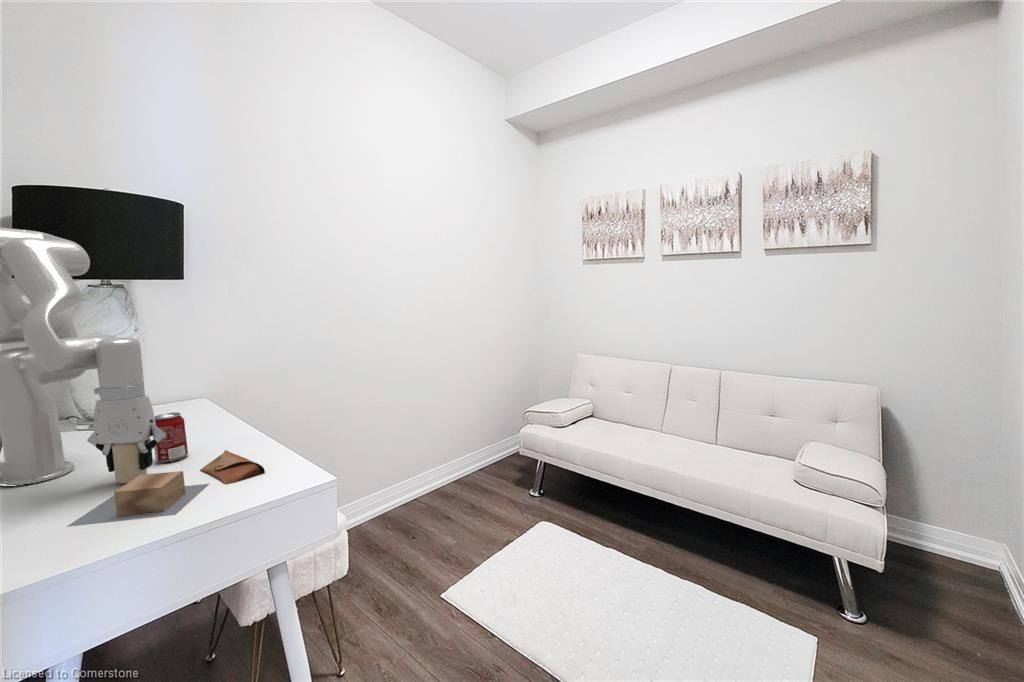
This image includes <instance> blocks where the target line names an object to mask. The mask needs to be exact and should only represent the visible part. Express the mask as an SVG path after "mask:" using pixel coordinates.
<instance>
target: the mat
mask: <svg viewBox="0 0 1024 682" xmlns="http://www.w3.org/2000/svg"><path fill="white" fill-rule="evenodd" d="M209 485H210V483H202V484H201V483H200V484H194V485H193V484H192V485H185V492H186V493H185V494H184V495H183V496H182V497H180V498H179V499H178V500H177V501H176V502H175V503H173V504H172V505H171V506H170V507H169V508H167V509H166V510H165V511H163V512H153V513H144V514H135V515H126V516H117V510H116V503H115V495H112V496H110V497H109V498H108V499H106V500H105V501H103V502H101V503H100V504H99V505H97V506H96V507H94V508H92V509H91V510H89V511H88V512H86V513H85V514H84V515H82V516H80V517H79V518H77V519H76V520H75V521H73V522H71V523H70V524H68V525H66V527H77V526H85V525H95V524H96V525H97V524H103V523H104V524H105V523H113V522H120V521H121V522H122V521H123V522H124V521H131V520H133V521H134V520H141V519H149V518H158V517H166V516H168V517H169V516H176V515H177V514H178V513H179V512H181V511H182V510H183V509H184V508H185V507H187V505H188V504H190V502H192V501H193V500H194V499H195V498H196V497H197V496H198V495H200V493H202V491H204V490H205V489H206V488H207V487H208V486H209Z"/></svg>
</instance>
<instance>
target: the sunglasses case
mask: <svg viewBox="0 0 1024 682" xmlns="http://www.w3.org/2000/svg"><path fill="white" fill-rule="evenodd" d="M199 472H201V473H204V474H205V475H208V476H210V477H212V478H214V479H215V480H218V481H219V482H221V483H222V484H223V485H225V486H226V485H231V484H235V483H238V482H241V481H246V480H248V479H251V478H254V477H257V476H260V475H264V474H265V473H266V471H265V468H264V466H262V465H261V464H259V463H258V462H255V461H252V460H250V459H248V458H245V457H243V456H241V455H238V454H236V453H233V452H230V451H229V450H227V449H225V450H224V451H223V453H221V454H220V455H219V456H218V457H216V458H214V459H213V460H211V461H210V462H208V463H207V464H205V466H203V467H202V468H201V469H199Z"/></svg>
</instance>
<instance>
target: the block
mask: <svg viewBox="0 0 1024 682" xmlns="http://www.w3.org/2000/svg"><path fill="white" fill-rule="evenodd" d="M185 486H186V484H185V476H184V471H183V470H179V471H170V472H169V471H168V472H158V473H147V474H145V475H139V476H138V477H136V478H135V479H133V480H132V481H130V482H129V483H125V484H124V485H122V486H121V487H120V488H118V489H116V490H115V491H114V492H113V494H114V495H115V503H116V510H117V516H126V515H135V514H144V513H153V512H163V511H165V510H166V509H167V508H169V507H170V506H171V505H172V504H173V503H175V502H176V501H177V500H178V499H179V498H180V497H182V496H183V495H184V494H185V493H186V492H185ZM114 495H113V496H114Z"/></svg>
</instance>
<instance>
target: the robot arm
mask: <svg viewBox="0 0 1024 682" xmlns="http://www.w3.org/2000/svg"><path fill="white" fill-rule="evenodd" d="M1 264H2V265H5V266H6V267H7V268H8V270H9V272H10V274H11V275H12V277H14V278H13V279H15V281H16V282H17V284H18V286H19V287H20V288H21V290H22V292H23V293H24V295H25V297H26V298H27V300H28V301H29V302H26V301H24V299H22V295H21V294H20V291H19V288H18V286H17V285H16V283H15V281H13V280H12V279H11V278H10V277H9V276H8V275H6V274H5V273H4V272H2V271H0V345H13V344H26V346H25V347H23V346H21V347H14V348H8V349H7V348H6V349H2V350H0V439H1V444H2V449H3V450H2V451H3V458H4V461H0V473H1V477H0V484H6V485H21V484H29V483H34V484H37V483H36V482H38V483H42V482H41V481H43V482H45V480H46V481H49V479H50V480H53V479H56V478H58V477H61V476H65V475H66V474H68V472H69V473H70V472H72V471H73V470H74V469H75V464H74V462H71V461H65V460H66V459H65V453H64V447H63V441H62V435H61V434H62V433H61V427H60V421H59V414H58V413H59V412H58V408H57V403H56V401H55V399H54V397H53V396H52V395H51V394H50V393H49V392H47V391H46V390H44V388H42V387H41V386H43V385H44V386H45V385H48V384H55V383H59V382H63V381H64V382H65V381H70V380H74V379H77V378H79V377H81V376H82V375H83V374H84V373H85V371H88V370H89V371H90V370H96V371H97V378H98V387H96V388H94V390H93V393H94V394H95V395H99V398H100V399H98V400H96V401H95V406H94V412H93V413H94V414H93V432H92V434H91V435H90V436H89V437H88V438H87V442H88V443H90V444H91V445H92V446H94V447H95V448H96V449H97V450H99V451H100V452H101V453H102V456H105V459H106V460H105V461H106V467H107V469H108V472H109V473H113V472H115V470H114V461H113V451H112V445H113V444H127V443H137V444H138V446H139V448H140V450H141V453H140V454H139V463H140V469H141V470H145V469H146V468H149V467H151V466H152V464H153V461H154V460H153V459H154V458H153V449H154V447H155V446H156V445H157V444H158V443H159V442H160V441H161V440H162V439H163V438H164V437H166V433H165V432H163V431H162V430H161V429H160V428H158V427H157V426H156V423H155V412H154V407H153V405H152V402H151V400H150V397H149V395H146V392H145V379H144V370H143V358H142V351H141V350H142V348H141V343H140V341H139V340H138V338H137V339H136V338H135V337H117V336H114V335H109V334H105V335H102V334H99V335H89V336H87V335H86V336H78V333H77V330H76V327H75V325H74V322H73V320H72V317H71V316H70V315H69V313H68V312H67V311H66V310H68V309H71V308H72V307H74V306H75V305H77V304H78V303H79V302H80V301H81V299H82V298H83V292H82V291H81V290H80V288H79V286H78V285H77V284H76V282H75V281H74V279H73V277H74V276H75V277H77V276H82V275H84V274H86V273H87V272H88V271H89V270H90V265H91V260H90V256H89V254H88V253H87V251H86V250H85V249H84V248H83V247H82V246H81V245H80V244H78V243H77V242H75V241H72V240H69V239H66V238H62V237H59V236H55V235H53V234H49V233H45V232H41V231H36V230H30V229H29V230H28V229H19V228H9V227H8V228H7V227H0V265H1ZM153 435H155V438H154V439H153V438H152V439H151V437H153ZM5 481H6V482H5ZM29 485H30V484H29Z"/></svg>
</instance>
